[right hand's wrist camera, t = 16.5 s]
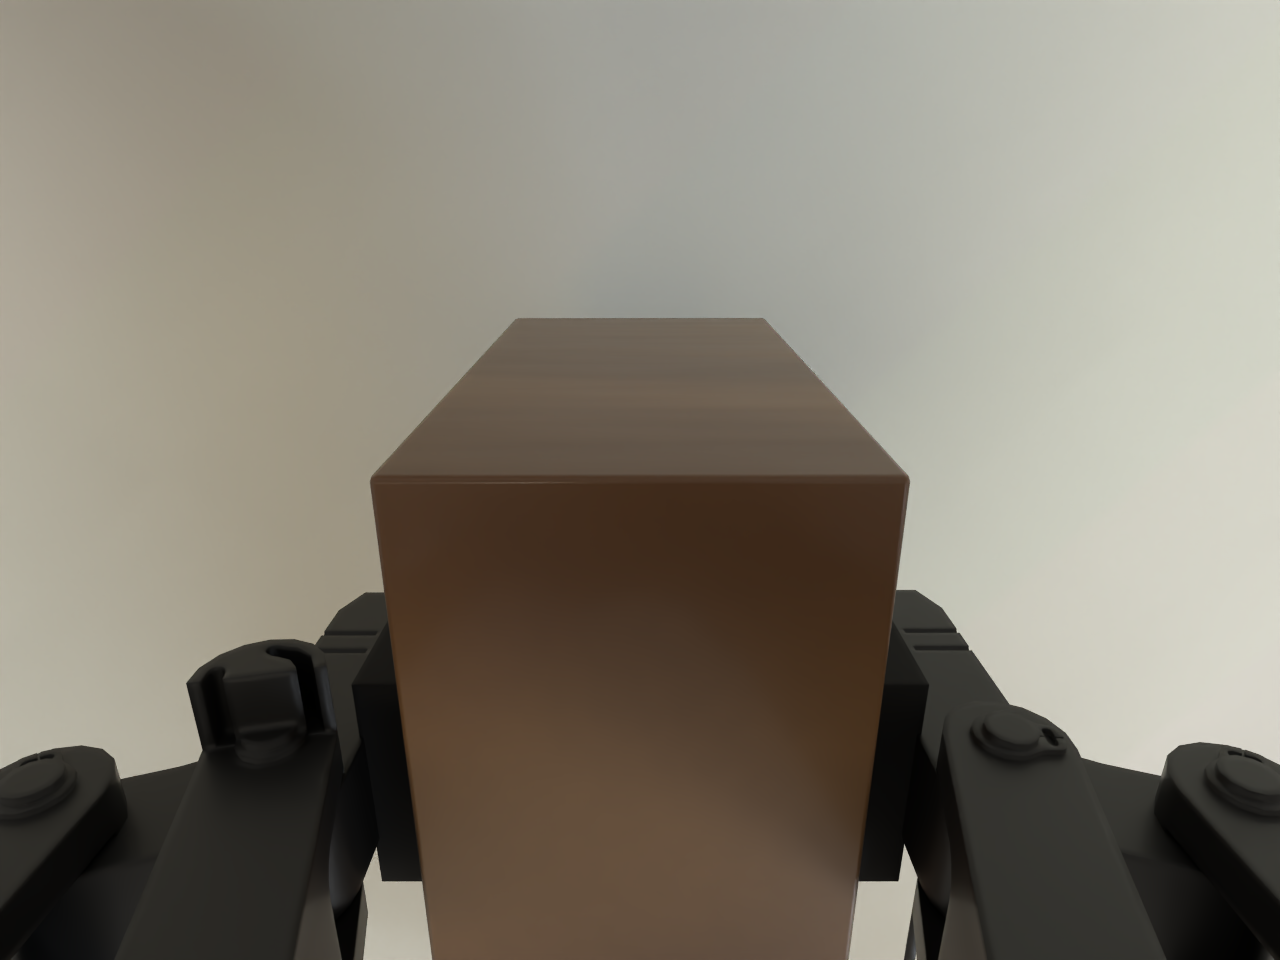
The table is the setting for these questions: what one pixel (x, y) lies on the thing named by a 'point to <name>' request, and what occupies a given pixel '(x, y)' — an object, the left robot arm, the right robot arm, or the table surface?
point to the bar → (640, 644)
